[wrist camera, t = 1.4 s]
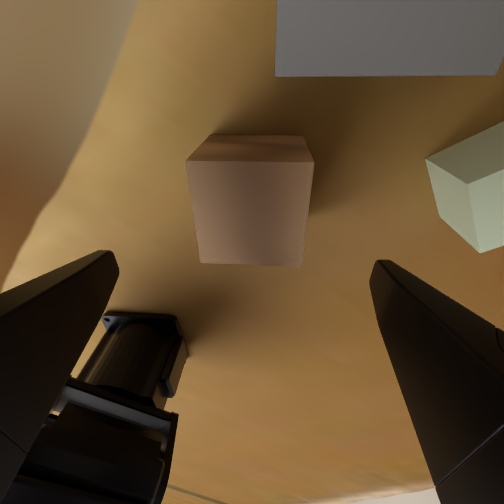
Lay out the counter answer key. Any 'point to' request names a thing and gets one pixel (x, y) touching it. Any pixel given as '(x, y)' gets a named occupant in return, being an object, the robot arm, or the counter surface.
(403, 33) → the grey square block
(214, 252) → the walnut cube
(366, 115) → the counter surface
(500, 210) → the sage block
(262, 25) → the counter surface
